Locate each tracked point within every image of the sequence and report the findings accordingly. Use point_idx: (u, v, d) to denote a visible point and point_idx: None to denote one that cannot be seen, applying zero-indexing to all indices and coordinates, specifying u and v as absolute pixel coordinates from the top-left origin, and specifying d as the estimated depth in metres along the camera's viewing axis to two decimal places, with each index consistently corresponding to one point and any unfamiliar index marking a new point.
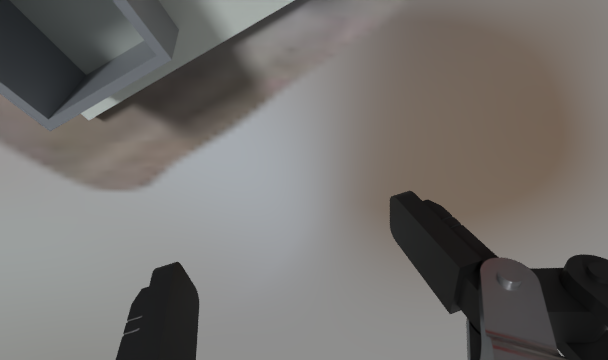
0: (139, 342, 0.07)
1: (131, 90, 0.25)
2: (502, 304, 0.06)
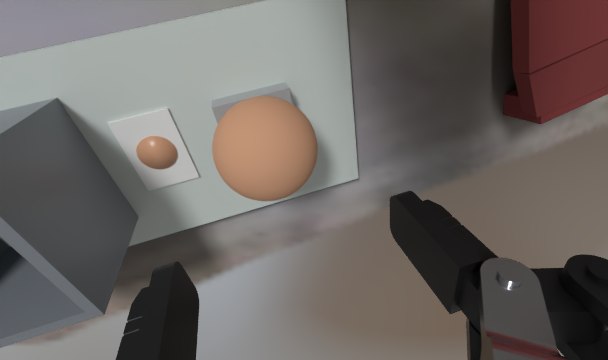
0: (139, 342, 0.07)
1: None
2: (502, 304, 0.06)
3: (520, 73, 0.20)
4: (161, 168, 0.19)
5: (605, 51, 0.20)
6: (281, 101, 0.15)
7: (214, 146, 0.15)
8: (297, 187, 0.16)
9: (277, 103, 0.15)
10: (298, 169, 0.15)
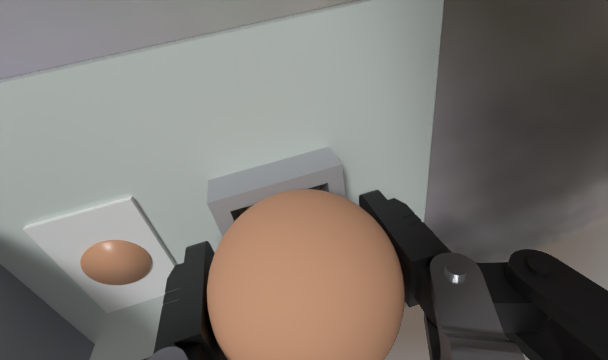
0: (181, 309, 0.08)
1: None
2: (444, 295, 0.07)
3: None
4: (126, 283, 0.12)
5: None
6: (342, 211, 0.08)
7: (210, 303, 0.08)
8: None
9: (338, 219, 0.07)
10: (382, 357, 0.07)
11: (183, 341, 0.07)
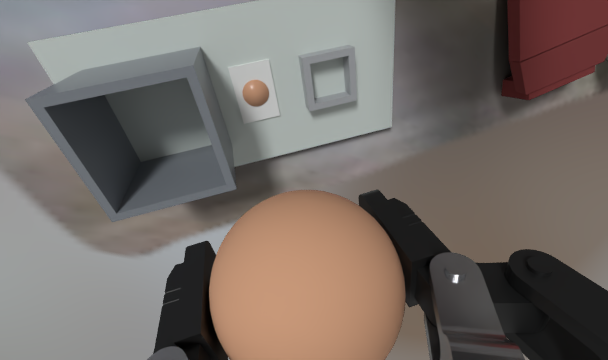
0: (181, 309, 0.08)
1: None
2: (444, 295, 0.07)
3: (514, 61, 0.29)
4: (256, 105, 0.27)
5: (573, 47, 0.29)
6: (344, 212, 0.08)
7: (213, 303, 0.08)
8: None
9: (339, 220, 0.07)
10: (383, 356, 0.07)
11: (183, 341, 0.07)
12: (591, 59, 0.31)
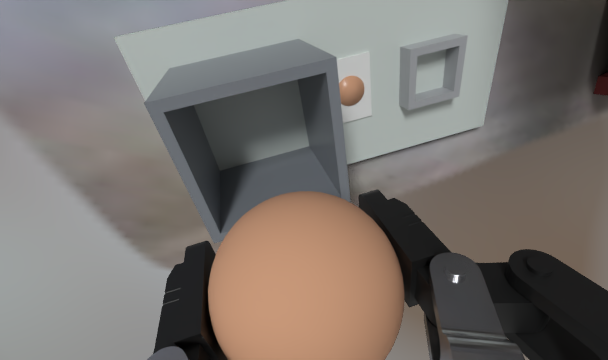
0: (181, 308, 0.08)
1: None
2: (444, 295, 0.07)
3: None
4: (348, 105, 0.24)
5: None
6: (343, 214, 0.08)
7: (212, 305, 0.08)
8: None
9: (338, 221, 0.07)
10: (382, 358, 0.07)
11: (183, 341, 0.07)
12: None
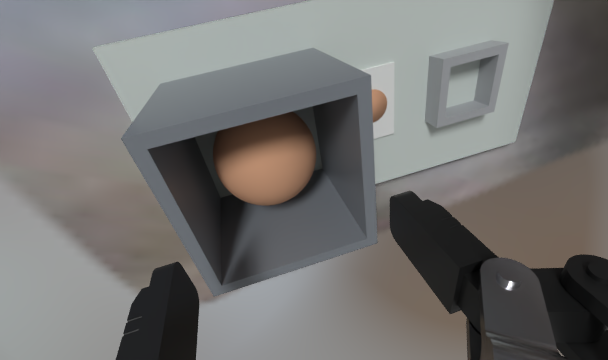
0: (139, 342, 0.07)
1: None
2: (502, 304, 0.06)
3: None
4: None
5: None
6: None
7: (215, 152, 0.15)
8: (296, 192, 0.16)
9: None
10: (297, 174, 0.15)
11: None
12: None
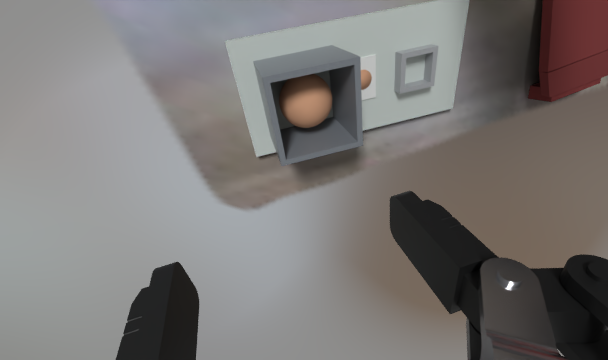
0: (139, 342, 0.07)
1: None
2: (502, 304, 0.06)
3: (542, 72, 0.39)
4: (361, 89, 0.36)
5: (586, 63, 0.39)
6: (315, 75, 0.31)
7: (282, 95, 0.31)
8: (322, 118, 0.31)
9: (314, 75, 0.30)
10: (323, 107, 0.30)
11: None
12: (598, 73, 0.41)
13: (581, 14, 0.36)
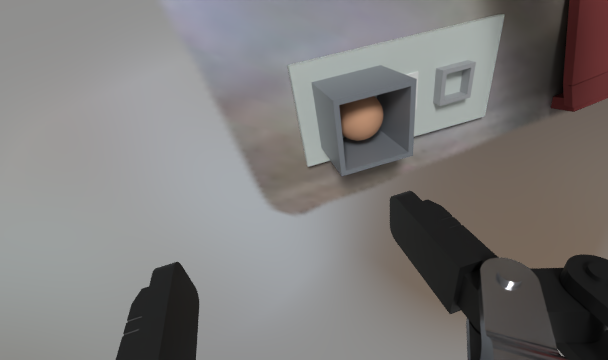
0: (139, 342, 0.07)
1: None
2: (502, 304, 0.06)
3: (566, 85, 0.43)
4: None
5: (606, 77, 0.43)
6: None
7: None
8: (374, 132, 0.35)
9: None
10: (377, 122, 0.34)
11: None
12: None
13: (603, 33, 0.40)
